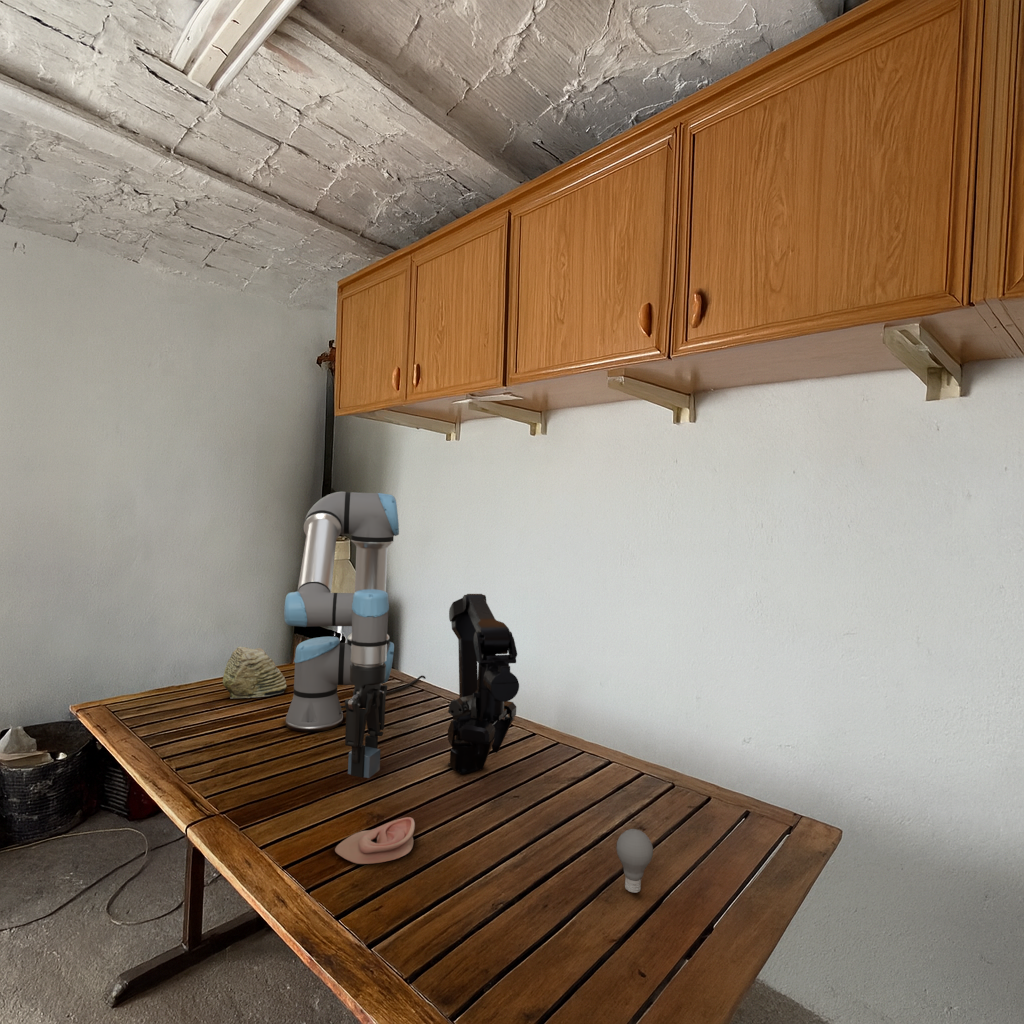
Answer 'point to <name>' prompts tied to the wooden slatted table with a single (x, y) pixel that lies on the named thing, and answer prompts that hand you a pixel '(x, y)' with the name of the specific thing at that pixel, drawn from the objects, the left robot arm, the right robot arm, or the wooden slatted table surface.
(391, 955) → the wooden slatted table surface
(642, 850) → the light bulb
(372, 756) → the block
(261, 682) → the fossil
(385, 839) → the anatomical model
